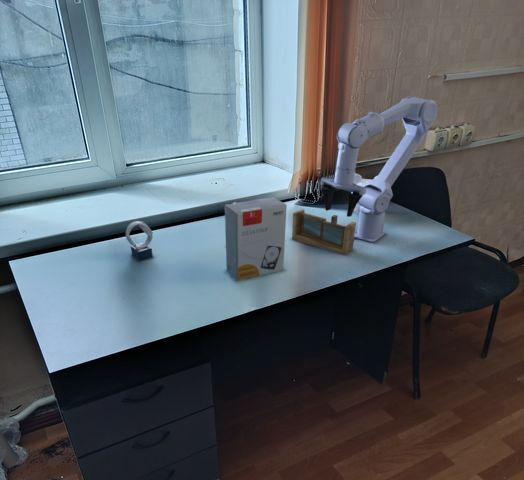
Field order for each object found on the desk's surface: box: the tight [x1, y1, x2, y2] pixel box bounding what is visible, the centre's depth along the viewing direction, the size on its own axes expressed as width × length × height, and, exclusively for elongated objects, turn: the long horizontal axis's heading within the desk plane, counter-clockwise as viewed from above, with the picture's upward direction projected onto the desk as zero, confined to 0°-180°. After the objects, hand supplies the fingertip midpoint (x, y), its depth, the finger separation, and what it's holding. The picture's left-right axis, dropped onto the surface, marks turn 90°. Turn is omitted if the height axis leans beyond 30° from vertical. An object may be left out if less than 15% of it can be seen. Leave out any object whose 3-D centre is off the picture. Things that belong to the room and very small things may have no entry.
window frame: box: [291, 208, 357, 256], centre depth 154 cm, size 5×20×9 cm, turn 54°
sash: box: [320, 214, 346, 247], centre depth 151 cm, size 2×9×9 cm, turn 54°
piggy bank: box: [353, 172, 378, 215], centre depth 175 cm, size 12×12×15 cm
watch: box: [125, 220, 154, 262], centre depth 146 cm, size 6×8×11 cm
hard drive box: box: [224, 196, 287, 282], centre depth 136 cm, size 16×8×20 cm, turn 117°
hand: (338, 212), depth 151 cm, fingers open, 7 cm apart
